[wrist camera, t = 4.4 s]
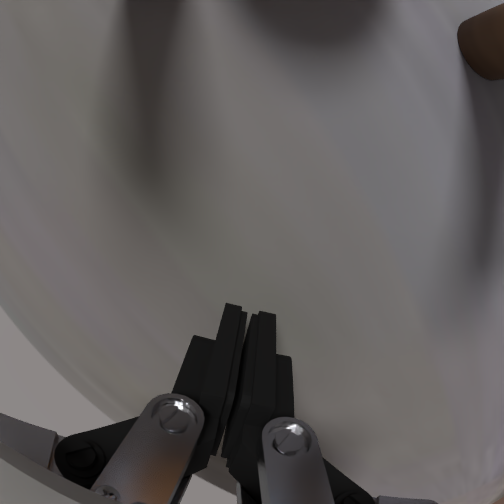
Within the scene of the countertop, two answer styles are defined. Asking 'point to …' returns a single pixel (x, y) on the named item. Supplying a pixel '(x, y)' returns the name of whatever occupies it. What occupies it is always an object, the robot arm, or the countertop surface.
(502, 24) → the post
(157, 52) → the countertop surface
